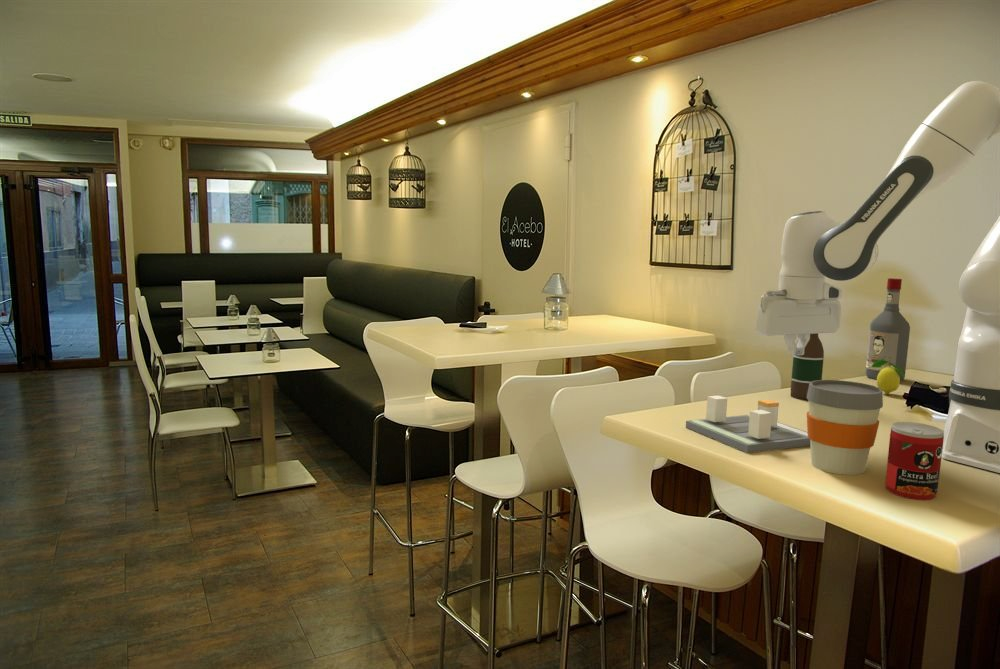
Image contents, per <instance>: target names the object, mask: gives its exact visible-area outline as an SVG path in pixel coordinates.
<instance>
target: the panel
mask: <svg viewBox="0 0 1000 669" xmlns="http://www.w3.org/2000/svg"><path fill="white" fill-rule="evenodd" d="M749 417H750V414H743V415H741V414H740V415H734V416H733V415H732V416H726V421H722V422H713V421H710V420H707V419H706V418H702V419H701V418H700V419H693V420H691V419H690V420H686V421H685V429H688V428H689V429H688V430H690V429H691V430H690V431H693V432H695V431H696V433H698V434H700V433H701V435H702V434H703V436H705V437H707V436H708V437H707V438H710V437H711V438H710V439H712V438H713V439H712V440H715V441H717V440H718V441H717V442H719V441H720V442H719V443H722V444H724V445H727V446H728V447H729V446H730V447H732V448H734V449H736V450H739V451H742V452H743V453H746V454H751V453H758V452H766V451H774V450H775V451H776V450H783V449H791V448H797V447H798V448H799V447H807V446H808V447H809V446H811V444H810V439H809V438H808V431H806V430H803V429H799V428H798V427H793V426H790V425H788V424H785V423H782V422H779V421H777V426H771V430H770V438H761V439H757V438H755V437H752V436H749V435H748V430H749Z"/></svg>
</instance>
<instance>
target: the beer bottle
mask: <svg viewBox="0 0 1000 669" xmlns="http://www.w3.org/2000/svg"><path fill="white" fill-rule="evenodd" d="M819 337H820V336H819V333H816V334H810V339H809V341H808V343H807V345H806V346H805V350H804V355H795V356H792V357H793V358H792V368H791V380H790V381H791V382H790V397H791V398H793V399H797V400H805V401H808V399H807V398H806V397H807V393H808V388H809V383H810V382H812V381H816V380H823V369H824V359H825V358H824V357H825V352H824V346H823V343H822V341H821V340H820V338H819ZM797 342H798V340H797V341H796V342H795V343H796V345H797Z"/></svg>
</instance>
